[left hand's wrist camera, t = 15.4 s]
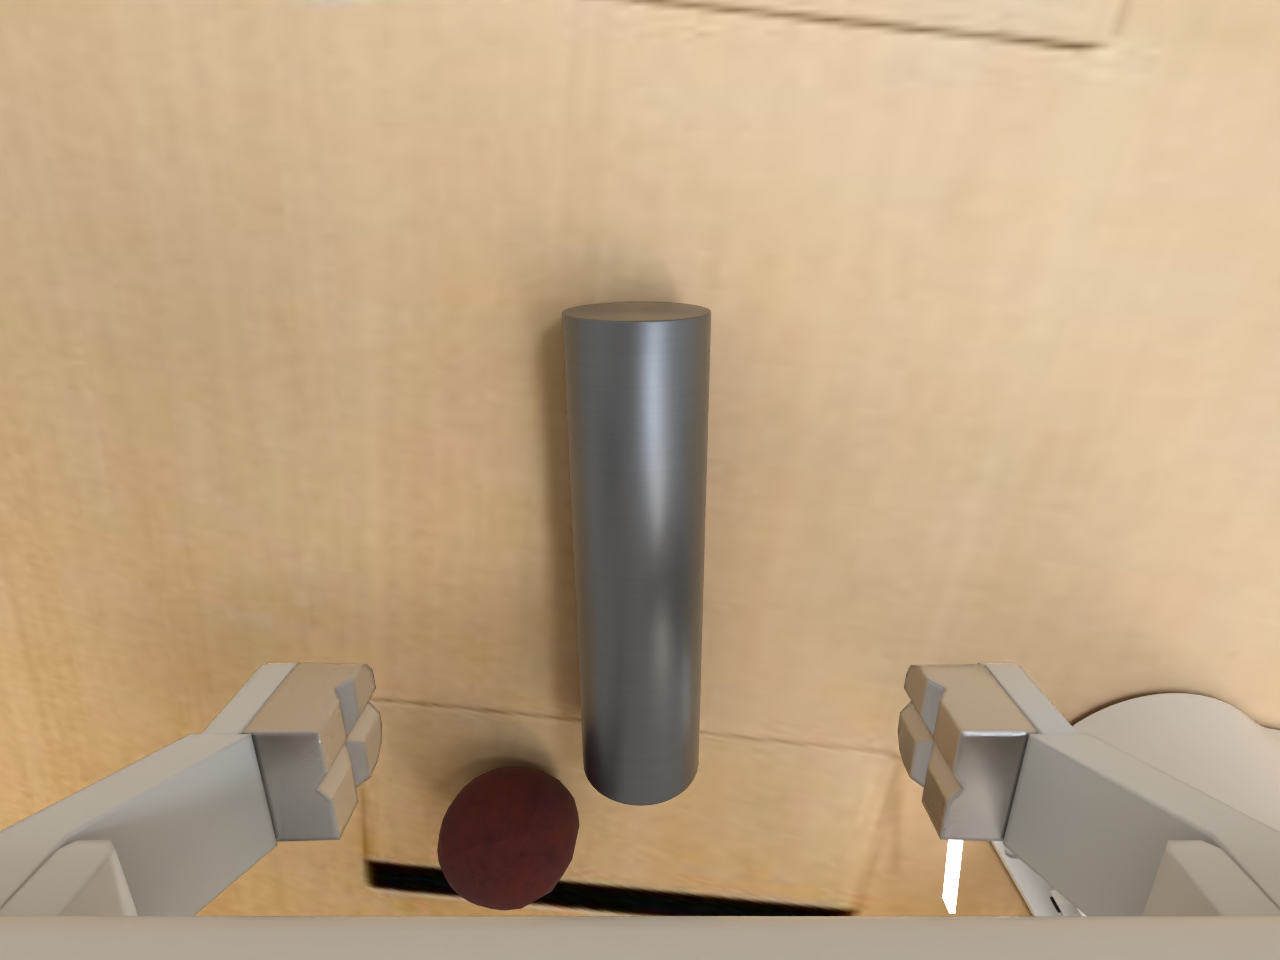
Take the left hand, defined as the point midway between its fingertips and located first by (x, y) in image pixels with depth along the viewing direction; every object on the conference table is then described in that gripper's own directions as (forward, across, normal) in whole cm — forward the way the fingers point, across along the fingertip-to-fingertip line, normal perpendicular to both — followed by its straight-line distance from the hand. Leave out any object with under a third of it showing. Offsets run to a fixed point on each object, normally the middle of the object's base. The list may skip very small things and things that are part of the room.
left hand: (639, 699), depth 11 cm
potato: (+24, -7, -25) cm, 36 cm away
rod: (+24, 0, -8) cm, 25 cm away
